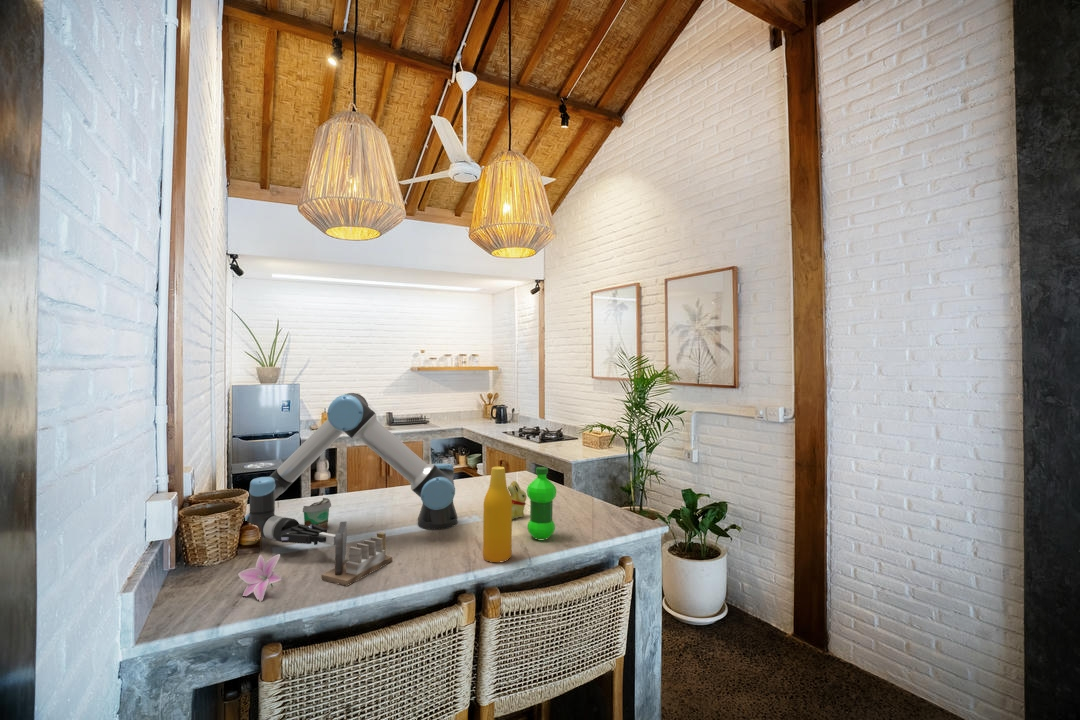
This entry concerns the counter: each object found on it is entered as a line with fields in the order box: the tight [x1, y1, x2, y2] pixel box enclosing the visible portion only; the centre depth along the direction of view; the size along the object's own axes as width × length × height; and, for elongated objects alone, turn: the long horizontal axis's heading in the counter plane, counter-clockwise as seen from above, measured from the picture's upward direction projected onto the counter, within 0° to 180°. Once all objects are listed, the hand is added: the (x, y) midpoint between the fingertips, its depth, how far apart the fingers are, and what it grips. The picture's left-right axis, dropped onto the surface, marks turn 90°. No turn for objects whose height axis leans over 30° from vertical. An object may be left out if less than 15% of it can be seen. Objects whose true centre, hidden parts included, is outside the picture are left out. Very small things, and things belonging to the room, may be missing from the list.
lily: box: [237, 553, 282, 601], centre depth 137 cm, size 12×12×10 cm
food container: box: [302, 497, 332, 529], centre depth 187 cm, size 12×6×10 cm, turn 168°
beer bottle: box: [482, 466, 513, 563], centre depth 162 cm, size 9×9×29 cm
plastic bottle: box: [526, 466, 557, 539], centre depth 181 cm, size 10×10×25 cm
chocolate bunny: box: [507, 480, 528, 520], centre depth 203 cm, size 7×11×15 cm, turn 125°
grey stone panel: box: [336, 521, 348, 570], centre depth 153 cm, size 13×2×10 cm, turn 17°
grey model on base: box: [321, 532, 393, 586], centre depth 151 cm, size 19×10×13 cm, turn 157°
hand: (335, 540), depth 157 cm, fingers closed
